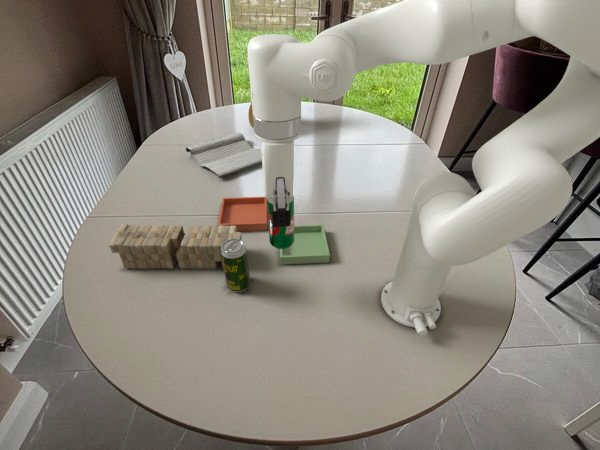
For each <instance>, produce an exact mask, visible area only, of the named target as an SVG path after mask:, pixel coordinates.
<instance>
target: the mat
mask: <svg viewBox="0 0 600 450" xmlns="http://www.w3.org/2000/svg"><path fill="white" fill-rule="evenodd" d="M185 152H186V153H190V157H191V158H192V157H193V158H194V160H195V161H196V163H197V164H198V165H199V166H200V167H202V168H207V169H208V170H210V171H211V172H212V173H214V174H215V175H217V176H218V178H219V179H220V178H221V179H223V177H227V176H229V175H232V174H235V173H238V172H241V171H243V170H246V169H249V168H253V167H256V166H258V165H262V154H261V148H253V147H252V146H251V144H250V143H249V142H248V141H247V140H246V138H245V136H244V134H243V133H242V132H236V133H232V134H228V135H226V136H221V137H217V138H213V139H211V140H207V141H202V142H200V143H196V144H193V145H189V146H186V147H185Z"/></svg>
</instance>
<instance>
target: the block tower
mask: <svg viewBox="0 0 600 450" xmlns="http://www.w3.org/2000/svg"><path fill="white" fill-rule="evenodd" d="M229 239H240V240H242V233H241V231H237V228H236V226H223V225H219V226H218V225H188V226H187V228H186V231H184V225H182V224H177V225H174V224H173V225H170V224H152V225H151V224H149V225H148V224H147V225H145V224H144V225H143V224H141V225H140V224H135V225H132V224H131V225H129V224H128V223H122V224H121V225H120V227H119V228H118V230H117V232H116V233H115V235H114V236H113V238H112V240H111V241H110V242H109V244H108V247H109V249H110V251H111V253H113V254H118V255H119V257H120V260H121V263H122V266H123V268H124V269H131V270H132V269H170V270H171V269H174V268H175V266H176V262H177V263H178V267H179V269H208V270H209V269H217V266H218V262H221V269H223V270H224V268H223V262H222V257H221V245H222V244H223V243H224V242H225V241H226V240H229Z"/></svg>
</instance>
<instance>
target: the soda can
mask: <svg viewBox="0 0 600 450" xmlns="http://www.w3.org/2000/svg"><path fill="white" fill-rule="evenodd" d="M284 191H285V192H286V190H284ZM275 193H277V191H275ZM276 202H278V198H276ZM285 202H286V197H285ZM289 207H290V222H291V225H290V226H288V227H274V226H273V214H272V208H273V196H272V198H267V226H268V236H269V237H268V238H269V244H270V246H272V247H273V248H275V249H277V250H280V249H286V248H289V247H290V246H292V245H293V243H294V225H295V196H294V194H293V195H292V196H291V197H289Z"/></svg>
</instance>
